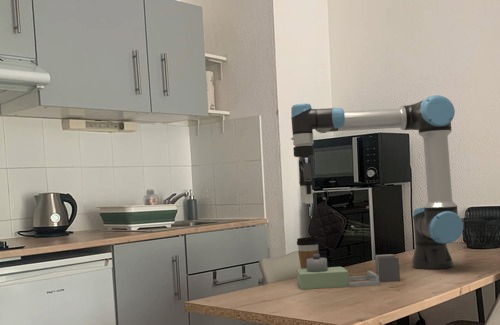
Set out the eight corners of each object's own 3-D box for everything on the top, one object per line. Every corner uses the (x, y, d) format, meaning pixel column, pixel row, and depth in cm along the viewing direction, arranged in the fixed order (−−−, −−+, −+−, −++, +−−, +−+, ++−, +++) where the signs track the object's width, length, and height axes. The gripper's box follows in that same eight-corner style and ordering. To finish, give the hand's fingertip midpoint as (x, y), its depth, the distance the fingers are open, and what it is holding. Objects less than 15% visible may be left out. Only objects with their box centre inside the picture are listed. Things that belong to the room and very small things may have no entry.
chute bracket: (370, 278, 200) (370, 270, 200) (379, 284, 187) (379, 275, 187) (342, 280, 200) (341, 272, 200) (349, 286, 187) (348, 277, 187)
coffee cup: (320, 278, 207) (317, 237, 208) (297, 279, 209) (295, 238, 209) (322, 274, 215) (319, 235, 216) (300, 275, 217) (297, 236, 218)
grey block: (396, 279, 197) (394, 253, 197) (400, 281, 192) (398, 255, 193) (376, 280, 196) (374, 254, 197) (379, 282, 192) (378, 256, 192)
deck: (342, 280, 199) (340, 250, 200) (349, 286, 187) (346, 254, 188) (297, 283, 199) (295, 253, 199) (301, 289, 187) (299, 257, 187)
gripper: (290, 148, 220) (293, 203, 219) (296, 143, 195) (300, 204, 194) (309, 147, 220) (312, 201, 219) (318, 142, 196) (322, 203, 194)
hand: (307, 203), depth 207 cm, fingers open, 13 cm apart
